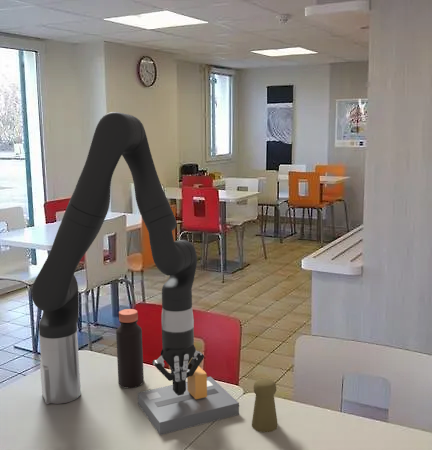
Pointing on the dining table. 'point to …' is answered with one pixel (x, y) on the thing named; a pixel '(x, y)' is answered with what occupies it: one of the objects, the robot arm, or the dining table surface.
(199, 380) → the knob
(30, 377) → the dining table surface
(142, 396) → the panel
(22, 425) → the dining table surface
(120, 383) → the bottle
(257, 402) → the olive pawn
